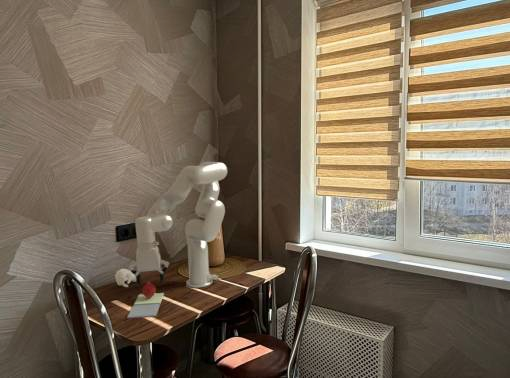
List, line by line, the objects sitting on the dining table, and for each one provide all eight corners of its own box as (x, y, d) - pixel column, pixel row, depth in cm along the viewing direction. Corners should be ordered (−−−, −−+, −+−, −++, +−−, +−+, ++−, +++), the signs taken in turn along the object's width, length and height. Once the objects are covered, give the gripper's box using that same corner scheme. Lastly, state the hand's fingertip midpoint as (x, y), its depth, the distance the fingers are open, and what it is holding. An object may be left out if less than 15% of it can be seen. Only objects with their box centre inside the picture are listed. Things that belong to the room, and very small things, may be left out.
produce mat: (163, 294, 179) (163, 292, 179) (160, 303, 168) (160, 302, 168) (139, 295, 178) (139, 294, 178) (134, 305, 167) (134, 304, 167)
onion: (139, 300, 171) (138, 282, 170) (147, 295, 177) (146, 277, 176) (151, 301, 169) (150, 283, 168) (158, 296, 175) (157, 279, 174)
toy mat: (159, 305, 167) (159, 303, 167) (155, 316, 156) (155, 315, 156) (133, 306, 166) (133, 305, 166) (127, 318, 155) (127, 316, 155)
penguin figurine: (113, 269, 189) (132, 264, 200) (113, 286, 190) (132, 281, 200) (122, 271, 186) (141, 266, 197) (122, 289, 186) (141, 283, 197)
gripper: (168, 241, 175) (171, 277, 177) (128, 244, 173) (132, 281, 176) (165, 245, 167) (169, 284, 170) (124, 249, 166) (128, 288, 169)
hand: (150, 282), depth 173 cm, fingers open, 9 cm apart
